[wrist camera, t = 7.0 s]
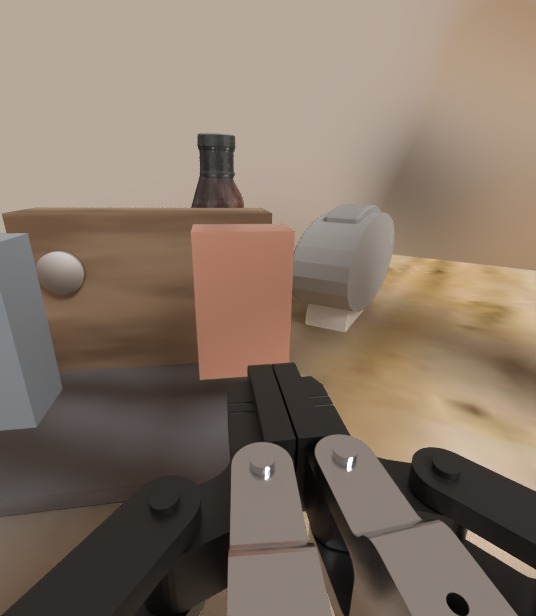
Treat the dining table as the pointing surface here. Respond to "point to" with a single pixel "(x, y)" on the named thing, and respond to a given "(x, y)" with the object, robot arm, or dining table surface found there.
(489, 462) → the dining table surface
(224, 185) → the sauce bottle
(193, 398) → the switch block
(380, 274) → the alarm clock
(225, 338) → the salmon pink block
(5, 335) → the blue-gray block
